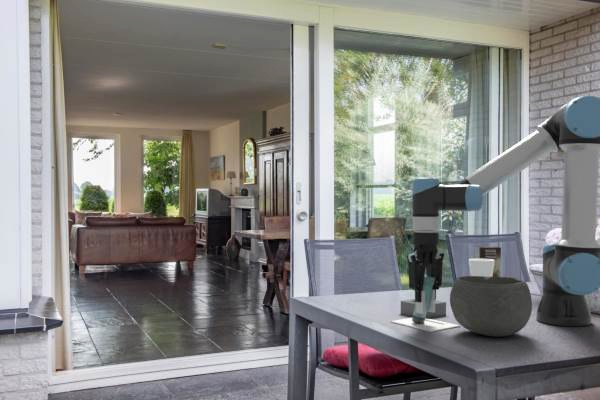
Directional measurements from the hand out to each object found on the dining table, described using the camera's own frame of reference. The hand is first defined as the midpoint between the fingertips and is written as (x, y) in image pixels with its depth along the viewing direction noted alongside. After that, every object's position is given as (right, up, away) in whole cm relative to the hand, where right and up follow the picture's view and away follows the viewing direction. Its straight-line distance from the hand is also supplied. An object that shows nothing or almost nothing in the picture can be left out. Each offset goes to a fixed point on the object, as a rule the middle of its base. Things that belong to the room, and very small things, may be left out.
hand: (425, 312), depth 176 cm
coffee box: (+43, -4, +83) cm, 94 cm away
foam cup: (+34, -4, +59) cm, 68 cm away
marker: (-2, -3, +2) cm, 4 cm away
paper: (0, -4, +2) cm, 4 cm away
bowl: (+15, -4, -10) cm, 19 cm away
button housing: (+3, -4, +17) cm, 18 cm away
